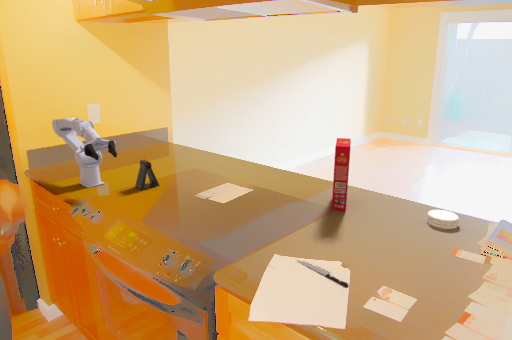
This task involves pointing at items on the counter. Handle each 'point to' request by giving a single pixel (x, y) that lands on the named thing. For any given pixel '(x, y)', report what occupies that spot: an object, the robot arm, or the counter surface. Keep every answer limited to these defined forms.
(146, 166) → the door stopper
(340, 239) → the counter surface
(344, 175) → the food packaging
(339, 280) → the chef's knife
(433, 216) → the coaster
